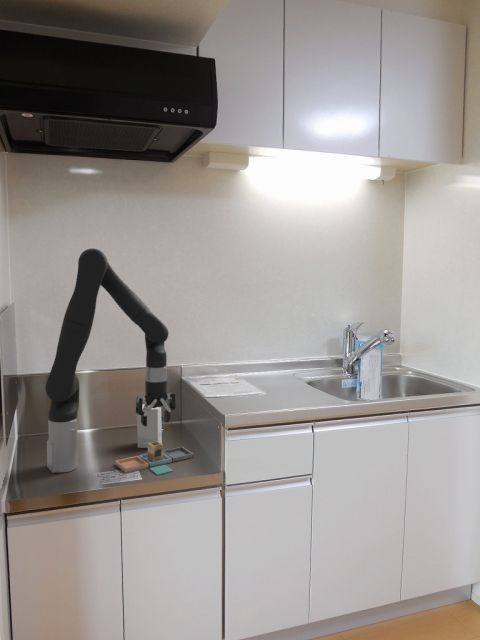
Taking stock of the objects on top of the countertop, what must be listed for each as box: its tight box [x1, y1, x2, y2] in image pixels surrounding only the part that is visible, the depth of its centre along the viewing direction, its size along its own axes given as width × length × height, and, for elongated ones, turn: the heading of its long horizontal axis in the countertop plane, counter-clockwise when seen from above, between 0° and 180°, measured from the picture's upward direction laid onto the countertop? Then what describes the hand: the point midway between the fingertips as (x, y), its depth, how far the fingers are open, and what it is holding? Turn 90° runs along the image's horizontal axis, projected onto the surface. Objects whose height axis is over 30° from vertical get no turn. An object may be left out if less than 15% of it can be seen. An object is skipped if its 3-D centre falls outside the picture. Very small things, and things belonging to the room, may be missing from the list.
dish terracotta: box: [114, 455, 149, 474], centre depth 180 cm, size 8×8×2 cm
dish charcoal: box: [163, 446, 195, 463], centre depth 191 cm, size 8×8×2 cm
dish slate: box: [138, 453, 173, 468], centre depth 185 cm, size 8×8×2 cm
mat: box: [148, 464, 174, 476], centre depth 177 cm, size 6×6×1 cm
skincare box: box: [136, 403, 163, 449], centre depth 200 cm, size 8×7×16 cm
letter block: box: [147, 441, 164, 462], centre depth 185 cm, size 4×4×6 cm
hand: (155, 423), depth 184 cm, fingers open, 8 cm apart
